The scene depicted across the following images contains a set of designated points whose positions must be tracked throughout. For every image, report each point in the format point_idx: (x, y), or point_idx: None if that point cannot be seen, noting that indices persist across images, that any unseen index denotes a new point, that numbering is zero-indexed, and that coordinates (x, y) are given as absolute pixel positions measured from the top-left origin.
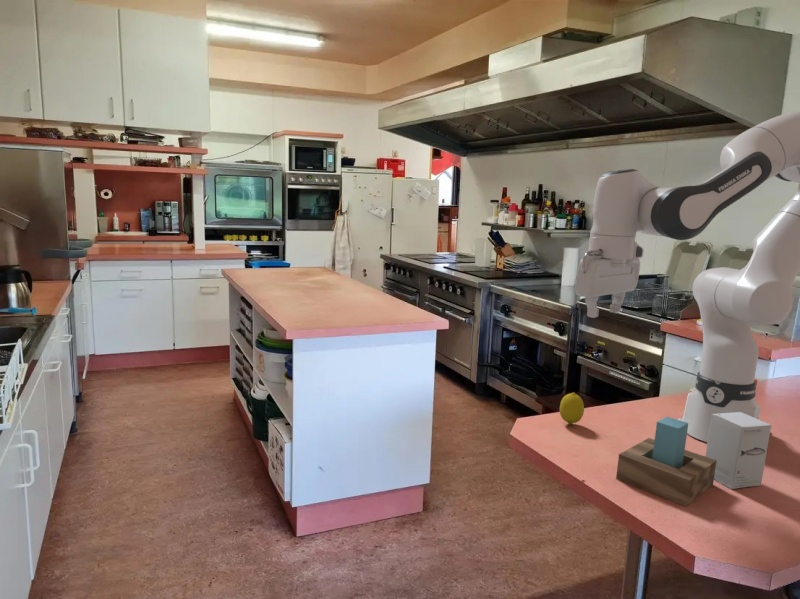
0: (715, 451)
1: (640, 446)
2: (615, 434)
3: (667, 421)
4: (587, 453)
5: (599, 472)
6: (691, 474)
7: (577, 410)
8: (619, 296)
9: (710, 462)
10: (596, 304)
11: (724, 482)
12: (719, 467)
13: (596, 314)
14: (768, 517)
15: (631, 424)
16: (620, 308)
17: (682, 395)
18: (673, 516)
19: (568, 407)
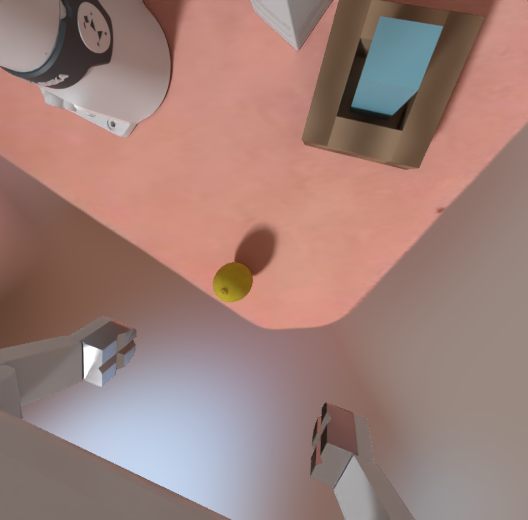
0: (308, 2)
1: (356, 143)
2: (233, 208)
3: (399, 67)
4: (333, 227)
5: (395, 196)
6: (449, 21)
7: (244, 272)
8: (17, 386)
9: (360, 2)
10: (385, 503)
11: (329, 2)
12: (320, 3)
13: (350, 421)
14: None
15: (178, 196)
16: (88, 325)
17: (5, 154)
18: (509, 53)
19: (248, 286)
